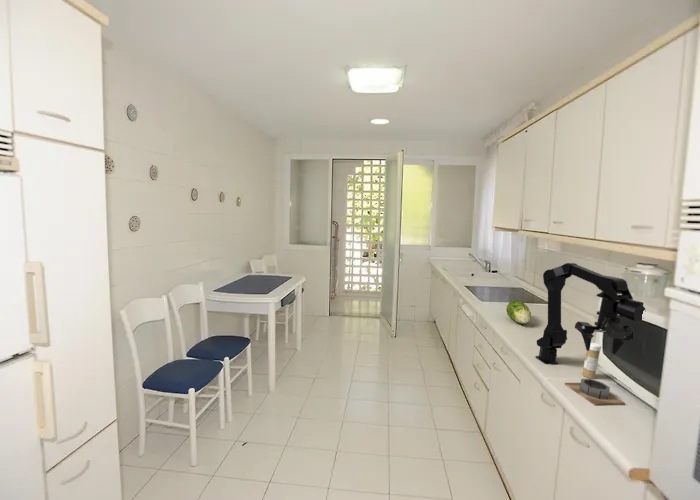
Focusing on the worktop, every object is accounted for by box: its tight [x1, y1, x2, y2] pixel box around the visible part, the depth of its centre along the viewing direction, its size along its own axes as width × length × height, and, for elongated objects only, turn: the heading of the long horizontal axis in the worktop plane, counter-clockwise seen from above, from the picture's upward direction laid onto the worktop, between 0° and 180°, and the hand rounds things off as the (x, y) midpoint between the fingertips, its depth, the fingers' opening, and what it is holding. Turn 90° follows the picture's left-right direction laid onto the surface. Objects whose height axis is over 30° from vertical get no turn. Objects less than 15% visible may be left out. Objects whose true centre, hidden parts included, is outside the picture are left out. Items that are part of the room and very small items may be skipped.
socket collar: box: [579, 378, 611, 399], centre depth 133 cm, size 9×9×3 cm
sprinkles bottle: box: [581, 341, 602, 379], centre depth 147 cm, size 5×5×14 cm
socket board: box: [564, 382, 626, 406], centre depth 133 cm, size 14×12×1 cm
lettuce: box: [506, 299, 532, 324], centre depth 210 cm, size 12×21×11 cm, turn 171°
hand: (600, 352), depth 138 cm, fingers open, 9 cm apart
